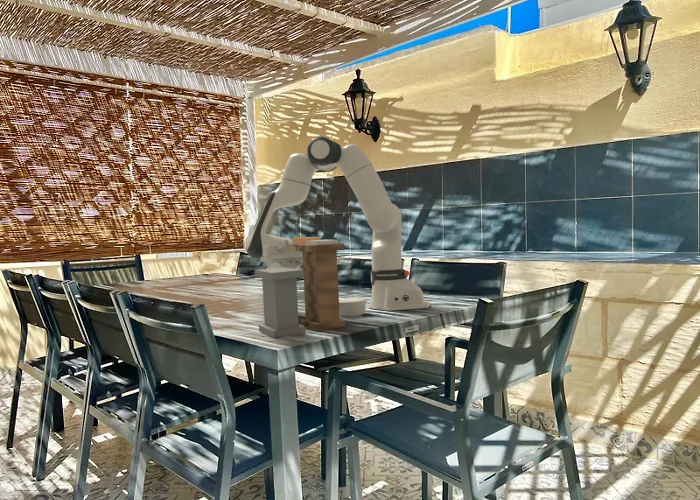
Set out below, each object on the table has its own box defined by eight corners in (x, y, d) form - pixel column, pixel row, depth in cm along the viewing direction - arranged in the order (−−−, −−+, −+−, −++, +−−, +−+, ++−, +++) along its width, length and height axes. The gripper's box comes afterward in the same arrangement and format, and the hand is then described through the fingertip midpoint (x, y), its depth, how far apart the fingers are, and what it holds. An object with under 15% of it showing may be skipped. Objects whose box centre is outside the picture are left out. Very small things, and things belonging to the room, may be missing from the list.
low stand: (258, 331, 168) (254, 270, 167) (287, 326, 173) (284, 267, 172) (275, 338, 156) (271, 272, 155) (306, 333, 161) (303, 270, 160)
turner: (287, 243, 183) (286, 237, 183) (305, 242, 187) (305, 236, 187) (317, 245, 163) (317, 238, 163) (337, 243, 167) (337, 237, 167)
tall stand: (299, 324, 175) (295, 244, 174) (326, 320, 180) (323, 242, 179) (318, 331, 163) (314, 245, 162) (347, 327, 168) (343, 243, 167)
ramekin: (331, 317, 187) (330, 302, 187) (340, 311, 198) (339, 297, 198) (362, 317, 184) (361, 302, 184) (370, 311, 195) (369, 297, 195)
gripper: (256, 254, 190) (268, 234, 179) (309, 250, 200) (323, 231, 189) (260, 270, 188) (272, 251, 177) (313, 265, 198) (328, 246, 187)
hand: (299, 240), depth 183 cm, fingers open, 8 cm apart
